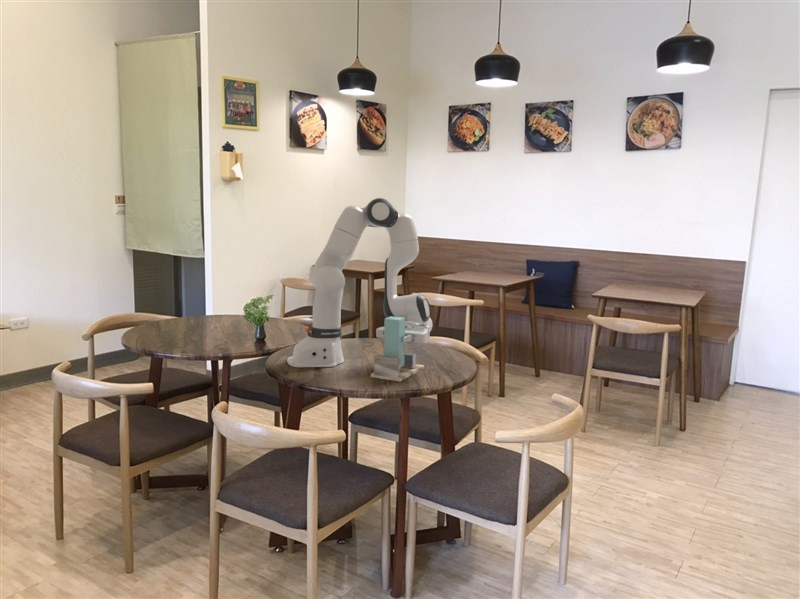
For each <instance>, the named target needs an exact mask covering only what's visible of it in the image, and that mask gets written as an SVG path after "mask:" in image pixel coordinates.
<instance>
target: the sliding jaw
mask: <svg viewBox="0 0 800 599" xmlns="http://www.w3.org/2000/svg"><path fill="white" fill-rule="evenodd" d="M416 364H417V354H416V353H414V352H413V353H412V352H406V351H405V357H404V366H402V367H404V368H411V369H413V368H415V367H416Z"/></svg>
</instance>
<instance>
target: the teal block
mask: <svg viewBox="0 0 800 599" xmlns="http://www.w3.org/2000/svg"><path fill="white" fill-rule="evenodd" d="M405 321H406V319H405V318H402V317H392V316H390V317H385V318H384V321H383V322H384V325H383V327H384V339H383V342H384V345H383V347H384V348H383V349H384V350H383V355H385V356H392V357H399V358H401V360H400V367H402V366H404V357H405V352H406V351H405V350H406V349H405V348H406V347H405V345H406V343H405V342H401V337H402V336H405Z"/></svg>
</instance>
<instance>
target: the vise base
mask: <svg viewBox="0 0 800 599" xmlns="http://www.w3.org/2000/svg"><path fill="white" fill-rule="evenodd" d="M400 360H401V358H399V357H392V356H385V355H384V354H377V355H375V356H374V372H372V373H370V378H374V379H382V380H387V381H388V380H389V381H395V382H400V383H401V382H402V381H404V380H406V379H407V378H409V377H410V376H413V375H414V374H417V373H418V372H419V370H420V371H421V370H423V369H424V368H425V365H424V364H417V363H416V367H415V368H413V369H411V368H404V367H400Z"/></svg>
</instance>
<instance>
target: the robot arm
mask: <svg viewBox="0 0 800 599" xmlns="http://www.w3.org/2000/svg"><path fill="white" fill-rule="evenodd" d="M367 227H370V228H371V227H372V228H383V229H385V230H386V232H387V233H388V236H389V237H388V238H389V243H390V252H389V255H388V257H387V258H386V259H385V262H384V263H385V264H384V291H383V292H384V297H383V305H382V312H383V315H384V316H385V318H387V317H390V316H392V317H402V318H405V336H402V337H401V342H405V344H407V345H408V344H415V343H417V344H427V343H429V342H430V338H431V337H430V335H431V334H430V332H431V331H432V330H433V326H434V325H433V320H432V319H431V306H430V302H429V300H428V299H427V297H426V296H424V295H423V294H422V293H411V294H408V295H407V294H406V295H400V296H399V295H398V289H397V288H398V274H399V272H400V271H401V270H402V269H403V268H405V267H407V266H409V265H410V264H411V263H413V261H415V260H416V259H417V257H418V256H419V253H420V244H419V237H418V233H417V228H416V225H415V222H414V220H413V217H412V216H411V215H410V214H408V213H399V212H398V211H397V210H396V208H395V207H394V206H393V204H392V203H391V202H390V201H389V200H388V199H385V198H382V197H378V198H374V199H371V200H370V202H369V203H367V205H366V206H364V207H359V206H357V205H349V206H348V205H347V206H345V208H344V209H343V211H342V212H341V214H340V215H339V217H338V219H337V220H336V223H335V224H334V226H333V229H332V232H331V233H330V235H329V238H328V240H327V242H326V244H325V246H324V248H323V250H322V251H321V253H320V254H319V256H318V257H317V260H316V262H315V263H314V265H313V266H312V268H311V269H310V271H309V272H310V273H309V279H310V282H311V284H312V285H313V286H314V288H315V291H314V292H315V294H314V299H313V300H314V301H313V305H312V325H311V326H310V327H309V326H308V325H306V326H305V327H304V331H305V332H306V333H307V336H306V337H304V338H303V339H301V341H299V342H298V343H297V344H295V346H294V349H293V353H292V356H289V357H288V358H287V359H286V360H287V361H286V363H287V364H288V365H289V366H290V367H293V368H333V367H336V366H337V365H340V364H342V363H344V362H345V359H344V354H343V349H342V336H343V334H342V333H343V329H342V324H341V321H342V320H341V318H342V316H341V312H342V311H341V310H342V301H343V295H344V288H345V285H346V277H345V275H344V273H343V270H344V268H345V266H347V264H348V262H349V261H350V259H352V257H353V255H354V253H355V251H356V248H357V246H358V244H359V241H360V239H361V237H362V234H363V233H364V231H365V230H366V228H367ZM375 335H376V338H377V339H382V340H384V326H379V327H377V328H376V330H375Z"/></svg>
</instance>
